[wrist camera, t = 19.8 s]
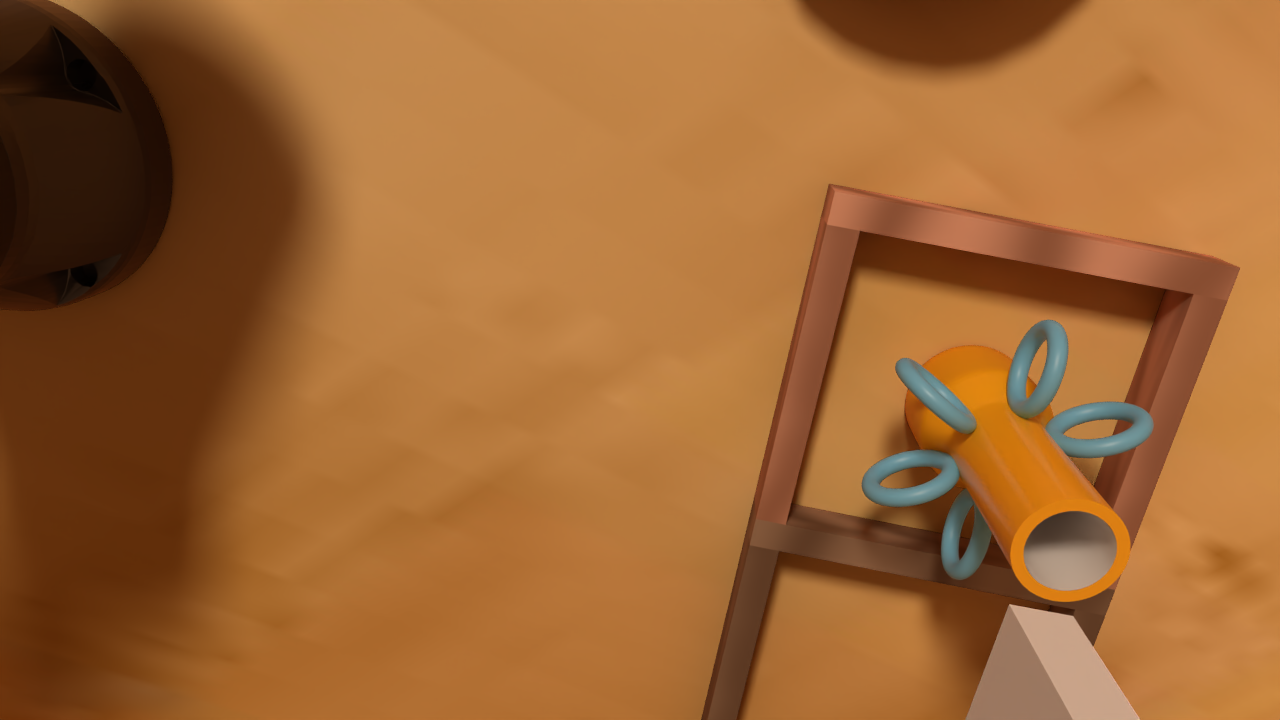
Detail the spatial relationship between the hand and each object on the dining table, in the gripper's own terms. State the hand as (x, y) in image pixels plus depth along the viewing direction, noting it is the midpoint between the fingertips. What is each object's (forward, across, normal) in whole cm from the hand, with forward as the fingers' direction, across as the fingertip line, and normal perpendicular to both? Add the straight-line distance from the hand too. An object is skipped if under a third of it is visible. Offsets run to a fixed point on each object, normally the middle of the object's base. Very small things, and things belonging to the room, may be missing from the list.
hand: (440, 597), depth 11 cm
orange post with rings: (+35, +19, -8) cm, 41 cm away
